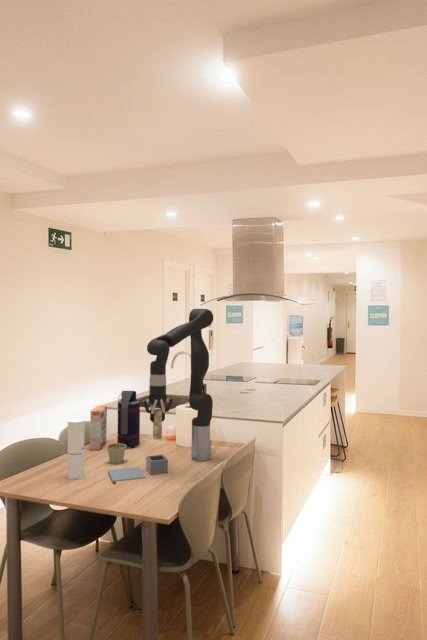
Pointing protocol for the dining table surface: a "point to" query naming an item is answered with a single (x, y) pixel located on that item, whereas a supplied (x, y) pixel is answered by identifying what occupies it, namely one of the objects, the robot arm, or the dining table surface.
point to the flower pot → (116, 452)
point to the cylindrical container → (75, 449)
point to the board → (125, 474)
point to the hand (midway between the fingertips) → (157, 421)
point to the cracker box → (98, 427)
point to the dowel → (157, 424)
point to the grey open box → (156, 464)
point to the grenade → (129, 419)
